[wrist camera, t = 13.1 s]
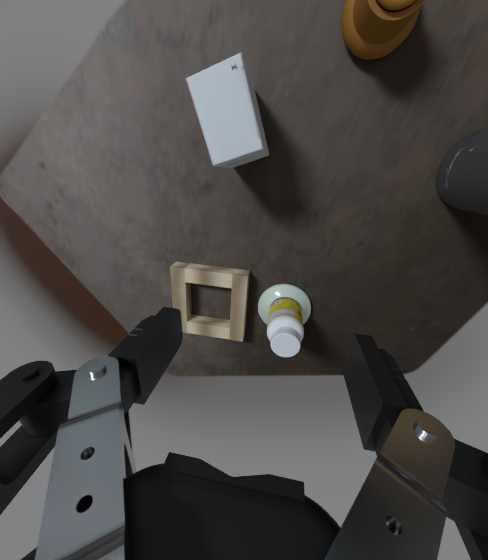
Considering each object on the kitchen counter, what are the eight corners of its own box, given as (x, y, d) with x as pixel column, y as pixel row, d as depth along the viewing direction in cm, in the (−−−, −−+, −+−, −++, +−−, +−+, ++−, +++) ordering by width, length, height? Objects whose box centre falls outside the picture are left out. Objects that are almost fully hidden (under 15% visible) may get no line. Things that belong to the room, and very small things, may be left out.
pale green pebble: (315, 287, 39) (315, 289, 39) (305, 331, 43) (305, 334, 42) (261, 280, 40) (260, 282, 40) (256, 324, 44) (255, 326, 44)
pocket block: (250, 270, 40) (247, 276, 38) (244, 333, 46) (242, 341, 43) (176, 261, 42) (170, 266, 39) (179, 323, 47) (174, 330, 45)
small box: (214, 104, 31) (183, 75, 22) (255, 87, 30) (240, 48, 20) (232, 169, 34) (211, 167, 25) (270, 156, 33) (263, 149, 23)
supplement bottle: (299, 323, 42) (303, 364, 33) (268, 320, 43) (264, 359, 34) (303, 296, 40) (307, 331, 31) (270, 293, 40) (265, 327, 32)
